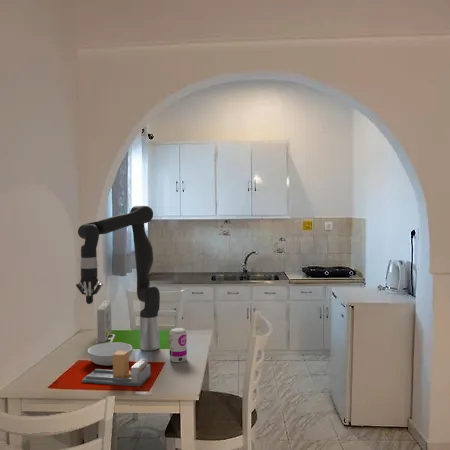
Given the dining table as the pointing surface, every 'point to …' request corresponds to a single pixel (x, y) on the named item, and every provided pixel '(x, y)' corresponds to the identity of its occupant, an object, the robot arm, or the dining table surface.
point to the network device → (104, 322)
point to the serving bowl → (107, 352)
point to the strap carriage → (121, 364)
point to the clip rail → (138, 377)
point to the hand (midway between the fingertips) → (89, 303)
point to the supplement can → (178, 344)
